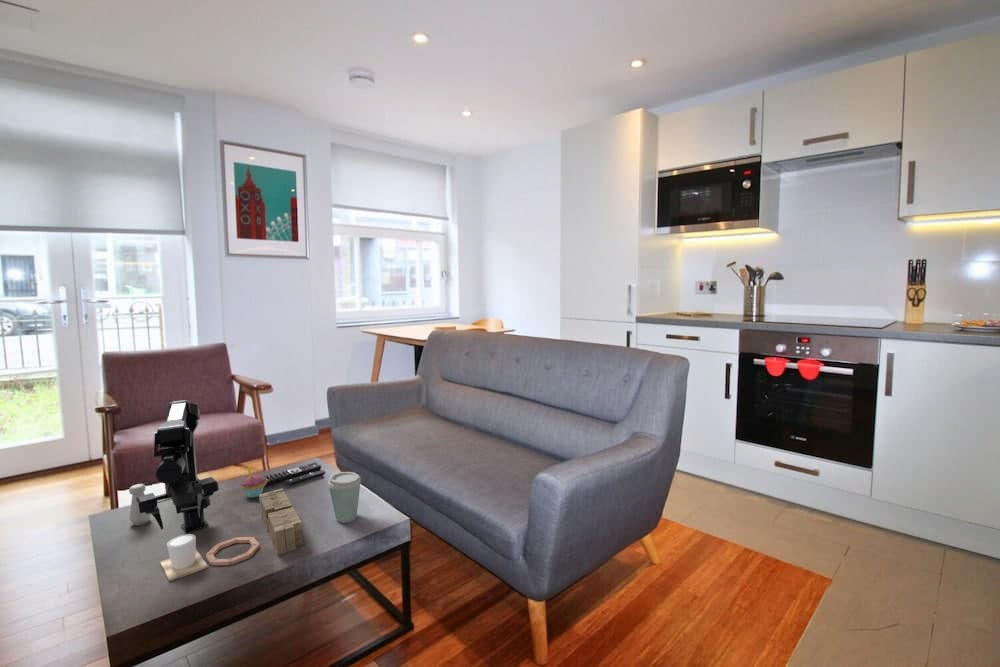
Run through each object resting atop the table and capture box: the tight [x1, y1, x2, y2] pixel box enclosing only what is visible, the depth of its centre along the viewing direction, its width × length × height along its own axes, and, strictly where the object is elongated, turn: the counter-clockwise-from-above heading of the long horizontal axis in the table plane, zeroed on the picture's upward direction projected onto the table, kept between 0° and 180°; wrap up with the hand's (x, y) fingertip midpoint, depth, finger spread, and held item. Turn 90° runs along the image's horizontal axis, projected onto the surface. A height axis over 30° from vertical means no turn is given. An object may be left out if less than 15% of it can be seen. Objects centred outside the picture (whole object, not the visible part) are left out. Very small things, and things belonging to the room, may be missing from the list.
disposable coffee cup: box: [327, 471, 362, 524], centre depth 162 cm, size 11×11×15 cm
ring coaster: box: [205, 536, 260, 566], centre depth 144 cm, size 13×13×1 cm
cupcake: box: [240, 463, 268, 499], centre depth 182 cm, size 9×8×12 cm
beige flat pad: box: [159, 548, 208, 583], centre depth 138 cm, size 12×9×1 cm
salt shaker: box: [128, 483, 152, 527], centre depth 162 cm, size 6×6×13 cm
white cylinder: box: [166, 533, 197, 569], centre depth 138 cm, size 7×7×7 cm
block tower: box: [258, 488, 304, 556], centre depth 156 cm, size 8×8×29 cm
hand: (181, 522), depth 138 cm, fingers open, 9 cm apart
